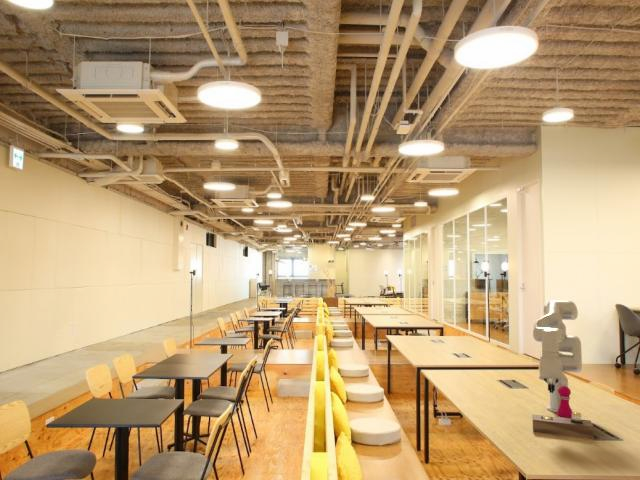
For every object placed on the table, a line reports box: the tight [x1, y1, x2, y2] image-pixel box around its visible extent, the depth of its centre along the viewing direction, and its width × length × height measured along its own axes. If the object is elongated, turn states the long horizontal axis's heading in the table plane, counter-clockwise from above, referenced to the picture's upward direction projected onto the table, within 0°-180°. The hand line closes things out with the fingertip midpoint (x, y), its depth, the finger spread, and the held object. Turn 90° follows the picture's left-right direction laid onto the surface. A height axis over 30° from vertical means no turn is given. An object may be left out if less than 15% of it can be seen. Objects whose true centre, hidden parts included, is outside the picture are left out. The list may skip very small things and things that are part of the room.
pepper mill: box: [556, 383, 573, 418], centre depth 250 cm, size 7×7×20 cm
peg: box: [572, 411, 582, 424], centre depth 231 cm, size 4×4×4 cm
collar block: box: [531, 413, 595, 441], centre depth 233 cm, size 10×26×6 cm, turn 68°
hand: (551, 392), depth 235 cm, fingers closed
